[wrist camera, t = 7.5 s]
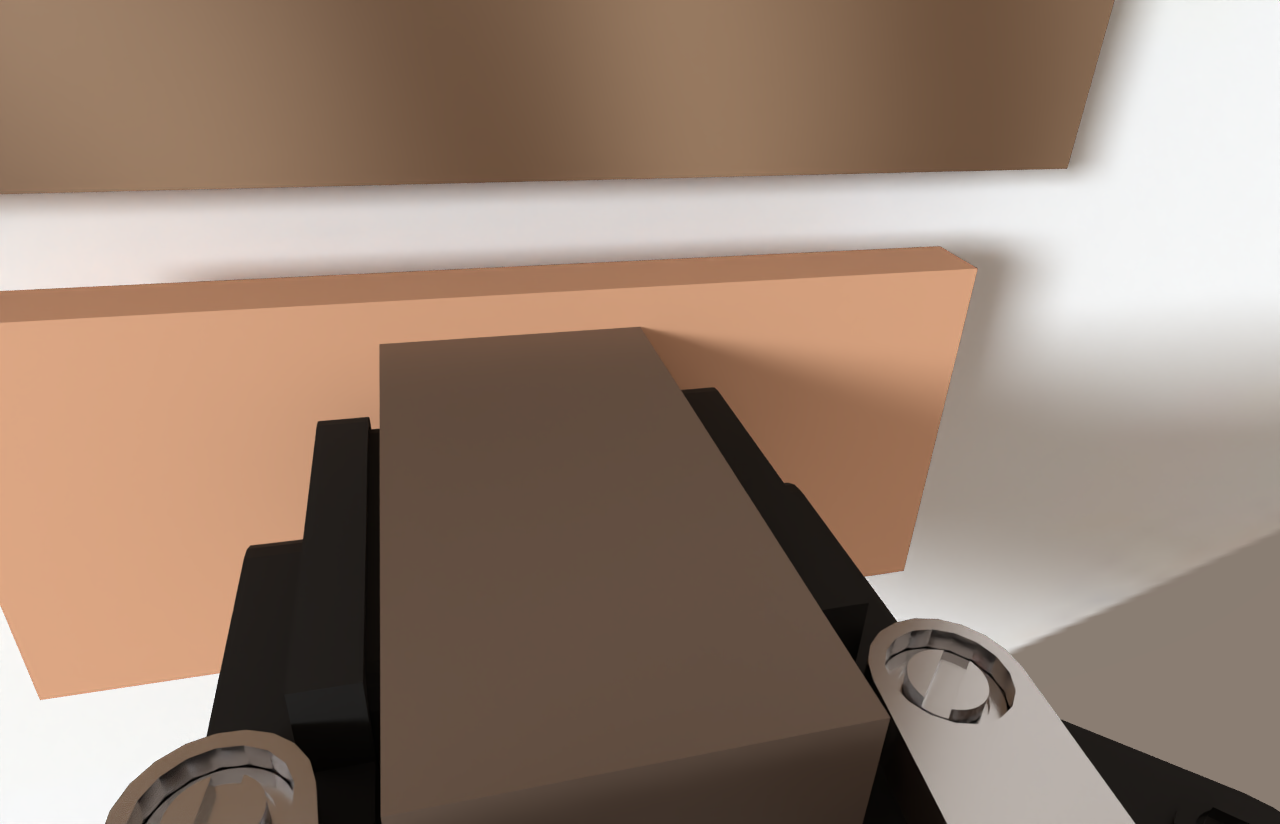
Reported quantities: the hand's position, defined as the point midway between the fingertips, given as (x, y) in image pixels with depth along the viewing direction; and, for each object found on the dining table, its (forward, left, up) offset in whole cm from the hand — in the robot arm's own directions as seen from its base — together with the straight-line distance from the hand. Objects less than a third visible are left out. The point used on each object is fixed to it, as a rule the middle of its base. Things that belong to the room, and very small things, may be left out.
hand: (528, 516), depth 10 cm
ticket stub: (0, 0, -2) cm, 2 cm away
